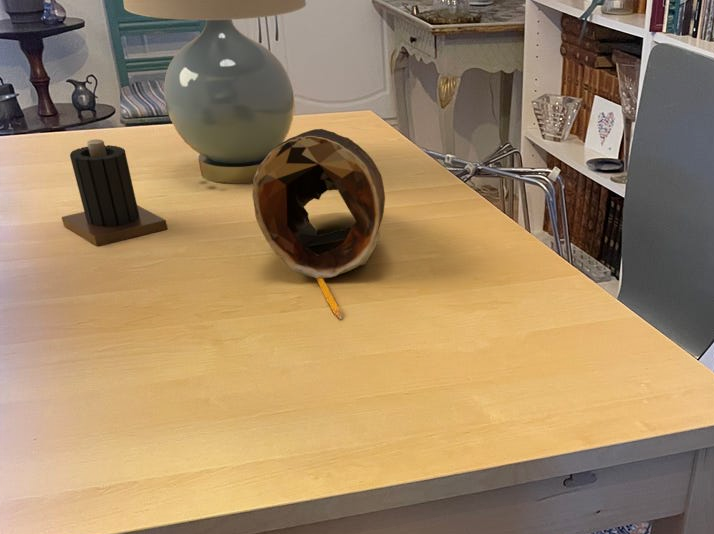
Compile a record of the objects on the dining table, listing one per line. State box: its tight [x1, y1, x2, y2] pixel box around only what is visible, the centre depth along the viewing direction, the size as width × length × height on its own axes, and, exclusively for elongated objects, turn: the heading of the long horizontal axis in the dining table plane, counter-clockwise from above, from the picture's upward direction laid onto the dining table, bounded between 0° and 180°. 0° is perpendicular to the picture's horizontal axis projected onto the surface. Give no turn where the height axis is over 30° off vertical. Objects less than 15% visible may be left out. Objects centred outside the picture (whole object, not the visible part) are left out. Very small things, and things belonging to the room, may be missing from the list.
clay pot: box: [251, 128, 386, 279], centre depth 118 cm, size 15×15×25 cm
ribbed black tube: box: [69, 144, 139, 226], centre depth 122 cm, size 7×7×8 cm
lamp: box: [122, 0, 307, 185], centre depth 131 cm, size 25×25×39 cm
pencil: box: [315, 278, 342, 320], centre depth 108 cm, size 1×13×1 cm, turn 19°
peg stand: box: [61, 138, 168, 247], centre depth 122 cm, size 10×10×10 cm
